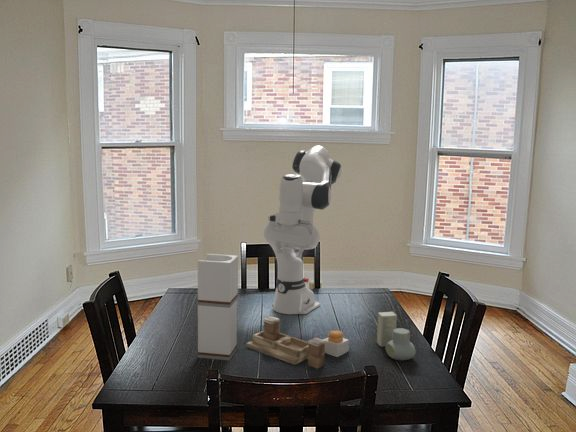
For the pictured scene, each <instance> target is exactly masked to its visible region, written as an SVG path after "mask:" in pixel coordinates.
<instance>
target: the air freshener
mask: <svg viewBox="0 0 576 432" xmlns="http://www.w3.org/2000/svg"><path fill="white" fill-rule="evenodd" d="M410 338H411V331H410V330H409V329H406V328H402V327H398V328H397V327H396V329H394V330H393V340H391V341H389V342H388V343H387V344H386V346H385V351H386V354H387V355H388V356H389V357H390V358H391V359H393V360H396V361H407V360H411V359H412V358H413V357H415V355H416V352H417V350H416V348H415V345H414V344H413V343H412V342H411V341H410V340H411V339H410Z"/></svg>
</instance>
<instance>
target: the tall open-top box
mask: <svg viewBox="0 0 576 432" xmlns="http://www.w3.org/2000/svg"><path fill="white" fill-rule="evenodd" d="M238 291H239V255H235V254H234V255H233V254H220V253H217V254H216V253H206V260H205V259H204V260H203V259H202V260H201V259H198V260H197V358H199V359H210V360H218V361H219V360H221V361H229V362H230V360H231V359H232V358H233V356H234V355H235V353H236V352H237V350H238V343H237V337H238V336H237V335H238V333H237V332H238V331H237V327H238V326H237V325H238V324H237V323H238V322H237V321H238V319H237V318H238V315H237V314H238V303H239V302H238V301H239V297H238V296H239V292H238Z"/></svg>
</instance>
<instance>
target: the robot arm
mask: <svg viewBox="0 0 576 432" xmlns="http://www.w3.org/2000/svg"><path fill="white" fill-rule="evenodd" d="M291 165H292V171H294V172H295V173H287V174H285V175H283V176H282V177H281V178H280V179H281V180H280V184H279V193H278V194H279V195H278V198H279V207H278V212H277V213H275V214H271V215H270V214H269V215H268V217H267V220H268V222H267V224H266V225H265V227H264V230H263V237H264V239H265V242H266V243H268V245H269V246H270V247H271V249H272V251H273V253H274V255H275V257H276V261H277V263H276V264H277V277H276V287H275V292H274V294H275V295H274V300H273V303H272V306H273V307H272V309H273V311H274V312H276V313H279V314H284V315H307V314H309V313H310V312H312V311H314V310H315V309H317V308H318V307H320V306H321V303H320V302H319V301H317V300H316V298H315V293H314V292H313V290H312V289H310V288H309V287H307V285H306V283H307V284H308V283H309V281H310V278H308V277H304V261H303V259H302V257H303V252H304V251H306V250H313V249H315V248H316V247H317V246H318V244H319V242H320V233H319V230H318V229H317V227H316V226H315V224H314V214H315V211H316V210H325V209H327V207H329V206H330V204H331V201H332V185H333V184H335V183H337V181H338V180H339V178H340V177H341V174H342V165H341V163H340V162H338V161H337V160H336V159H334V160H333V159H332V158H330V152H329V151H328V149H327V148H326V147H325V146H322V145H314V146H312V147H311V148H309V149H308V150H299V151H297V152H296V153H295V154H294V156H293V158H292V163H291ZM294 249H296V250H298V251H297V252H295V250H294Z"/></svg>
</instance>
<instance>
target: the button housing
mask: <svg viewBox="0 0 576 432" xmlns="http://www.w3.org/2000/svg"><path fill="white" fill-rule="evenodd" d="M322 340H325V354H328V355H330V356H333V357H336V358H338V357H340V356H342V355H344V354H347V353H348V352H349V345H350V339H347V338H345V337H343V341H340V342H338V343H335V342H332V341H329V340H328V337H326V338H323V339H322Z"/></svg>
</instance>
